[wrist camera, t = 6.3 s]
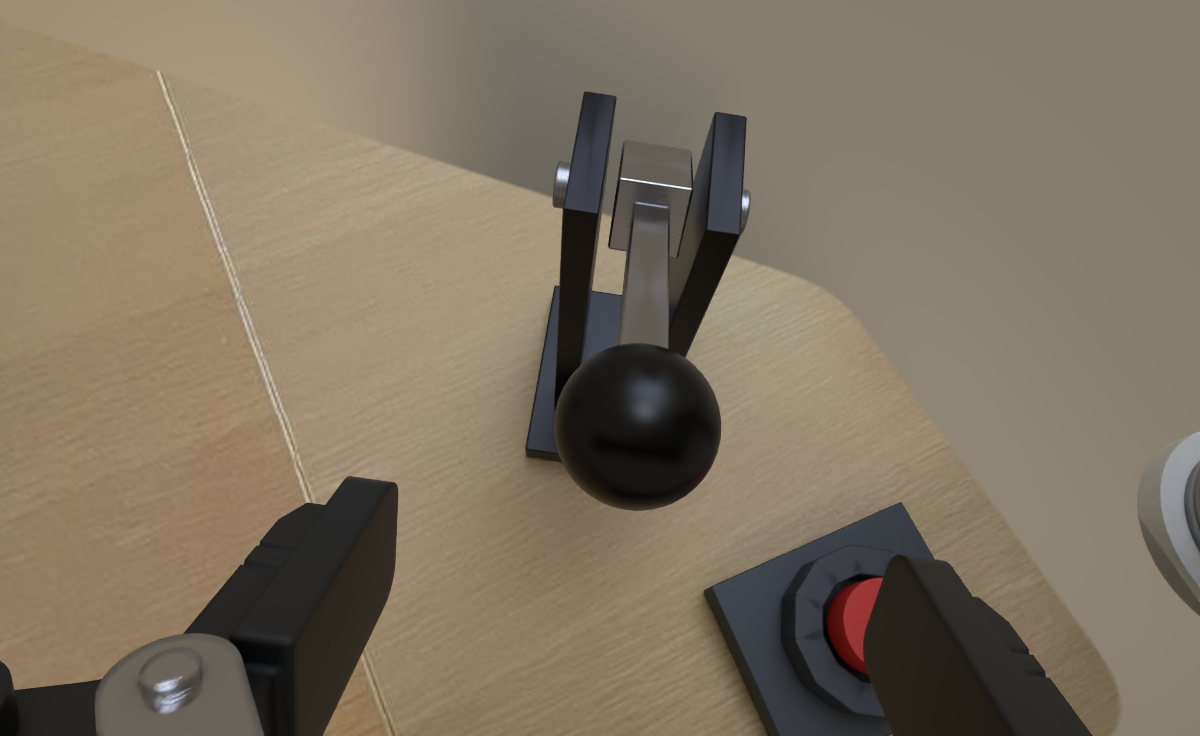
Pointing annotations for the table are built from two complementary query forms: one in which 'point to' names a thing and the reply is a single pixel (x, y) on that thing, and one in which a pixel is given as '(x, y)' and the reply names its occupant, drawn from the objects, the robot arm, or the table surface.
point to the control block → (810, 628)
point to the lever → (641, 358)
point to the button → (852, 620)
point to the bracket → (576, 310)
